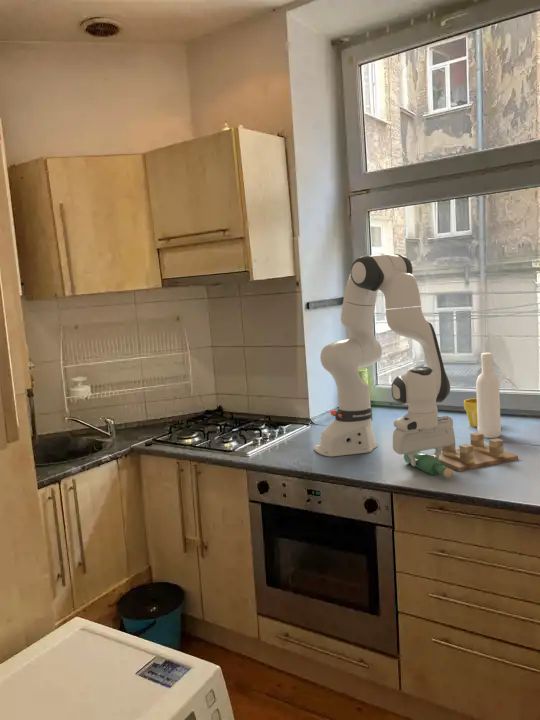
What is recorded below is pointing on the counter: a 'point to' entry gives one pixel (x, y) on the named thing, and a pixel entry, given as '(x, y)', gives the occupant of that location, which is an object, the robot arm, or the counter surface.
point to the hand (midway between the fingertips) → (425, 463)
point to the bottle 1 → (430, 464)
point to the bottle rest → (475, 454)
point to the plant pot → (471, 411)
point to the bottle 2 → (488, 399)
